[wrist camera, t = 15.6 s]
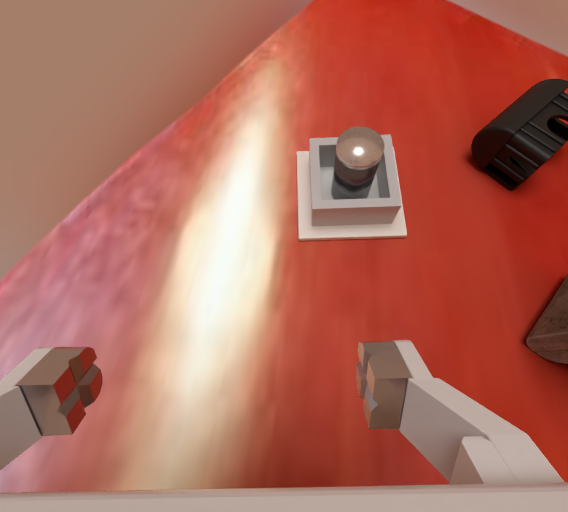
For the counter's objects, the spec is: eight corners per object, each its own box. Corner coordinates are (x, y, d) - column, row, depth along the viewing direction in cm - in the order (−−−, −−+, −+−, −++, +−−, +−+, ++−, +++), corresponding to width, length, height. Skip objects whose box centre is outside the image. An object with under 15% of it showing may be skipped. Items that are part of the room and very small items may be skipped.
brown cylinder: (331, 208, 37) (338, 166, 30) (329, 175, 39) (335, 127, 32) (370, 207, 37) (387, 163, 30) (367, 174, 39) (381, 125, 31)
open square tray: (298, 240, 37) (297, 222, 33) (296, 154, 41) (295, 128, 37) (405, 237, 36) (418, 218, 32) (392, 150, 40) (402, 123, 36)
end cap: (510, 114, 41) (546, 66, 35) (560, 147, 39) (609, 102, 33) (458, 158, 40) (487, 116, 33) (508, 195, 37) (549, 157, 31)
